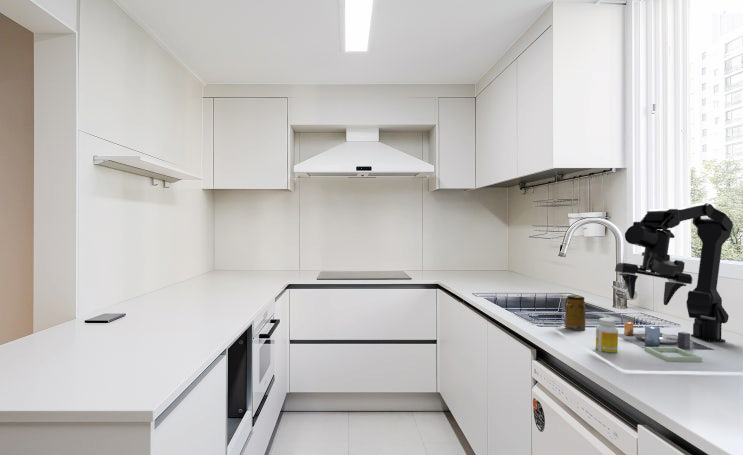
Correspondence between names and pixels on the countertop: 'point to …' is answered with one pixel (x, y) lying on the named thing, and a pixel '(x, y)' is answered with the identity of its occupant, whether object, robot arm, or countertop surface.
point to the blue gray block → (652, 336)
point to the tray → (686, 357)
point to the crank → (641, 334)
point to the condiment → (575, 313)
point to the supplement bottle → (606, 336)
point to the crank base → (682, 344)
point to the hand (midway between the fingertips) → (648, 301)
